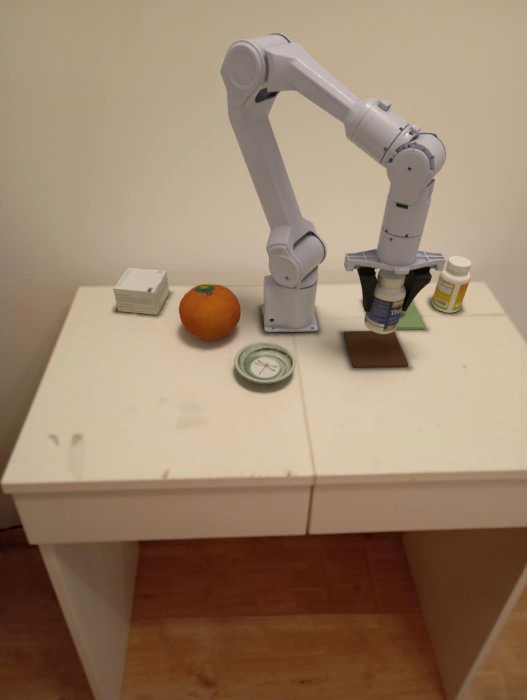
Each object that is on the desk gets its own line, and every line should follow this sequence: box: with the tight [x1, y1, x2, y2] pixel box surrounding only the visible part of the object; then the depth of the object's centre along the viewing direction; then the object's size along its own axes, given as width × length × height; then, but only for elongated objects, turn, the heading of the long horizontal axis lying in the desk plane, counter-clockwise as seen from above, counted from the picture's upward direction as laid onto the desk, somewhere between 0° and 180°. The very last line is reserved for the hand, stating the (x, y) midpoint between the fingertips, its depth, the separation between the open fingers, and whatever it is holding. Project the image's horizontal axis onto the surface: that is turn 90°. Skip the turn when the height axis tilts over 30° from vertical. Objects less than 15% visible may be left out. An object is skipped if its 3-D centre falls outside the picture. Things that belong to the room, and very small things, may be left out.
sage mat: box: [395, 301, 426, 331], centre depth 88 cm, size 9×9×1 cm
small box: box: [112, 267, 170, 316], centre depth 88 cm, size 8×8×5 cm
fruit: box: [178, 283, 242, 341], centre depth 81 cm, size 11×10×8 cm
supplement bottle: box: [431, 255, 472, 313], centre depth 88 cm, size 5×5×10 cm
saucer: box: [234, 340, 297, 385], centre depth 75 cm, size 10×10×2 cm
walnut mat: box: [343, 330, 409, 369], centre depth 80 cm, size 9×9×1 cm
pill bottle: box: [363, 269, 406, 334], centre depth 74 cm, size 5×5×10 cm
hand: (383, 308), depth 75 cm, fingers closed on pill bottle, 5 cm apart
